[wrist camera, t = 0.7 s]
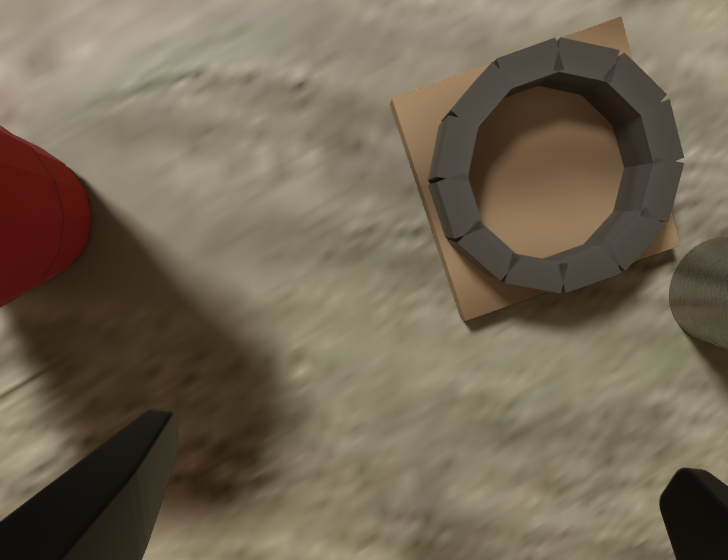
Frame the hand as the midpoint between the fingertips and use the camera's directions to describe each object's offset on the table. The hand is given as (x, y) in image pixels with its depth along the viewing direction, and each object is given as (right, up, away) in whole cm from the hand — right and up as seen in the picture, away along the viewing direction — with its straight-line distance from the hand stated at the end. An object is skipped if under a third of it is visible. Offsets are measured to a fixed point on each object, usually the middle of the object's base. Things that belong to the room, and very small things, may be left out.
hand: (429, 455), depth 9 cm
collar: (+6, +8, +13) cm, 16 cm away
